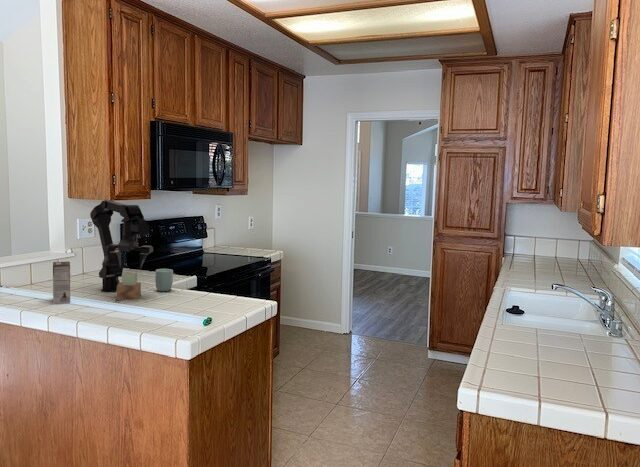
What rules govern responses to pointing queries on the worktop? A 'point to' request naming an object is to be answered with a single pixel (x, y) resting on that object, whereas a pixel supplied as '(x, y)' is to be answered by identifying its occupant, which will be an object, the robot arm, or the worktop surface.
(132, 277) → the green cube
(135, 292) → the walnut block
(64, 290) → the coffee box
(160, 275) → the cup
